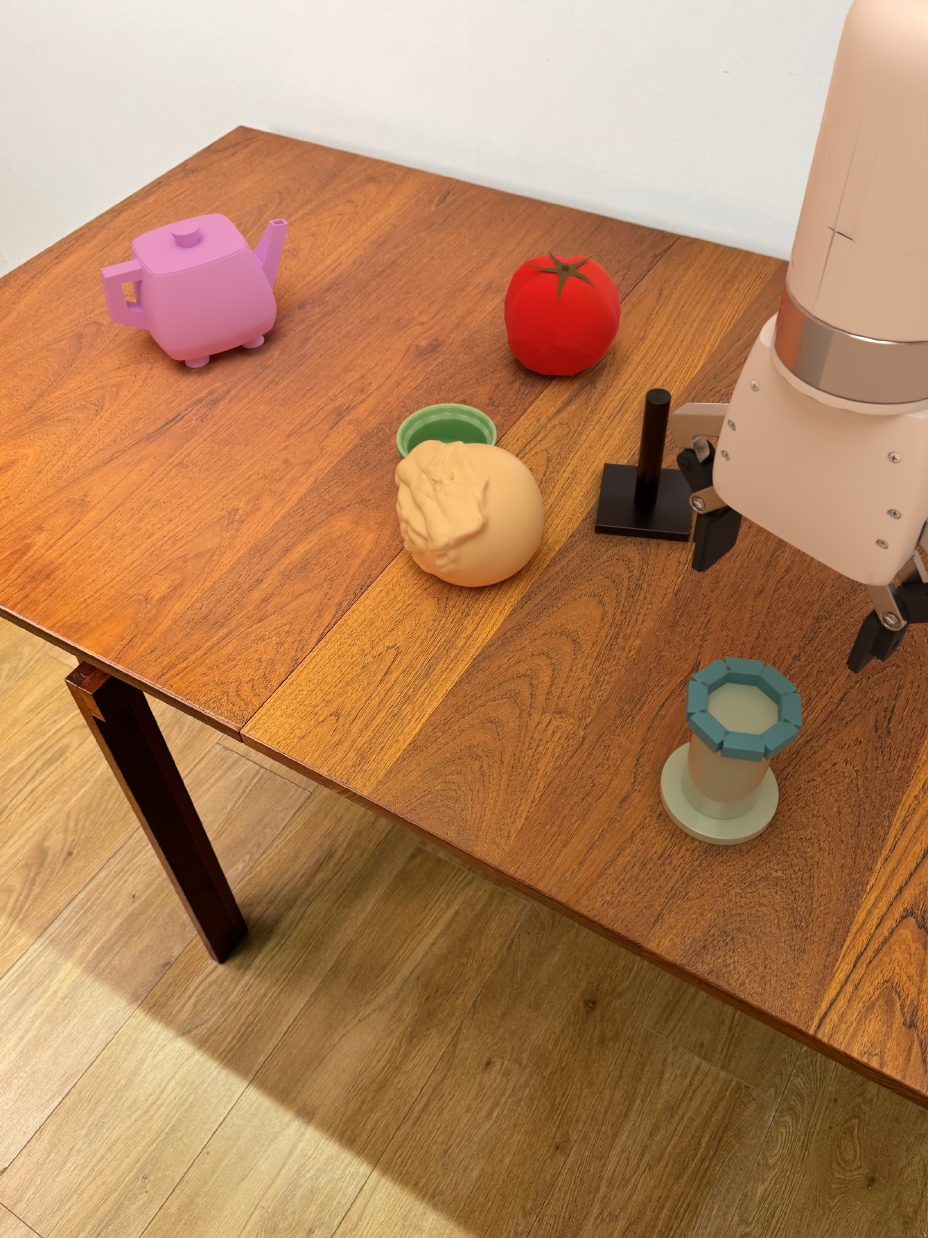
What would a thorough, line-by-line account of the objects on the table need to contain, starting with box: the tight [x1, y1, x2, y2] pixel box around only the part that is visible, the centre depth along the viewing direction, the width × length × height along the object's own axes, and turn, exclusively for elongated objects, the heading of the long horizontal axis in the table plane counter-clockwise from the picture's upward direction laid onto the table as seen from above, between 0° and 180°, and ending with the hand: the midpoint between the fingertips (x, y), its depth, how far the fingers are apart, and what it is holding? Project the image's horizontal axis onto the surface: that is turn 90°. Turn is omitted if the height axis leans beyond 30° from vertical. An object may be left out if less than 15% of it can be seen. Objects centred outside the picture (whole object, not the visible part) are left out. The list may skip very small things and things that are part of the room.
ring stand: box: [659, 683, 780, 846], centre depth 66 cm, size 8×8×10 cm
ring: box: [684, 656, 803, 762], centre depth 61 cm, size 7×7×1 cm
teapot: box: [100, 213, 289, 369], centre depth 102 cm, size 20×12×13 cm, turn 119°
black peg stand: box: [594, 387, 693, 543], centre depth 83 cm, size 8×8×12 cm
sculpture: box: [394, 440, 545, 588], centre depth 81 cm, size 12×12×11 cm
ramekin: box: [395, 402, 498, 460], centre depth 90 cm, size 9×9×4 cm
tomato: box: [503, 250, 622, 376], centre depth 97 cm, size 12×12×11 cm
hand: (786, 604), depth 53 cm, fingers open, 9 cm apart
